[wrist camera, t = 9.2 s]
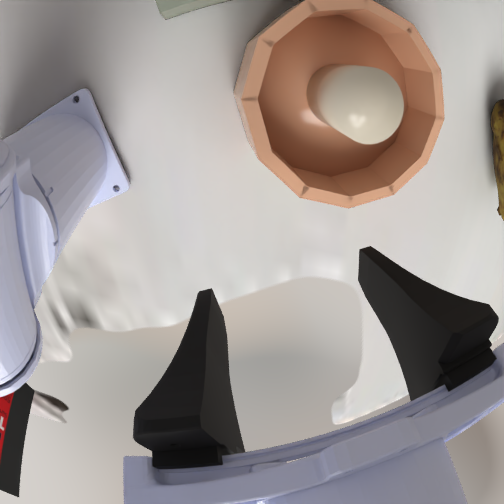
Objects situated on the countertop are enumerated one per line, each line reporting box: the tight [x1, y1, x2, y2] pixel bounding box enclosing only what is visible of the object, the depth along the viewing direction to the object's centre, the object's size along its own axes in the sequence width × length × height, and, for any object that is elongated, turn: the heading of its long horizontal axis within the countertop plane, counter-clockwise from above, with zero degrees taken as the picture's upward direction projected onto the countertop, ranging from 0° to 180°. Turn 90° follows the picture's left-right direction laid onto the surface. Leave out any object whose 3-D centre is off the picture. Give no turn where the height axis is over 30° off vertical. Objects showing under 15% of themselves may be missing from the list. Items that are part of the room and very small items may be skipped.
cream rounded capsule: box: [306, 64, 404, 144], centre depth 15 cm, size 4×4×4 cm
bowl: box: [233, 0, 444, 208], centre depth 16 cm, size 13×13×4 cm
